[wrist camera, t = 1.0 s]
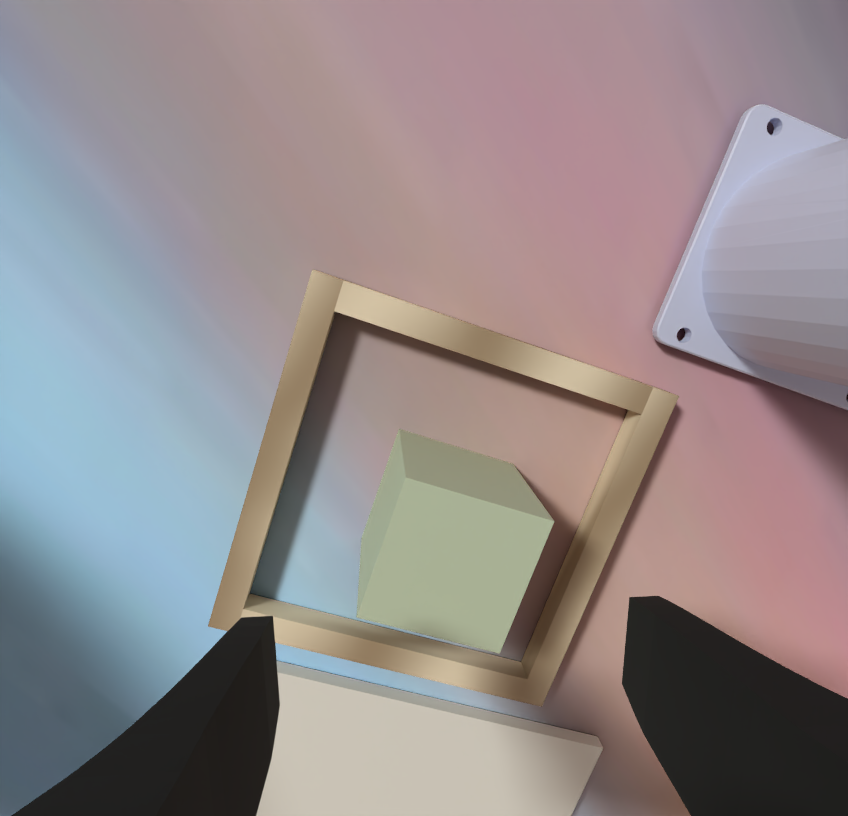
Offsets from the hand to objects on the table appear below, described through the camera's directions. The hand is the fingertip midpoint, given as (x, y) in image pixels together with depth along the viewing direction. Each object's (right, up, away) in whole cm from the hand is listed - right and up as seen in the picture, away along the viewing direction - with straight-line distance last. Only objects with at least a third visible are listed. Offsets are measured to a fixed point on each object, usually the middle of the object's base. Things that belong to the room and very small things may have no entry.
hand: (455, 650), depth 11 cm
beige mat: (-2, -13, +13) cm, 19 cm away
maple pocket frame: (0, +1, +9) cm, 9 cm away
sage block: (0, +1, +9) cm, 10 cm away
